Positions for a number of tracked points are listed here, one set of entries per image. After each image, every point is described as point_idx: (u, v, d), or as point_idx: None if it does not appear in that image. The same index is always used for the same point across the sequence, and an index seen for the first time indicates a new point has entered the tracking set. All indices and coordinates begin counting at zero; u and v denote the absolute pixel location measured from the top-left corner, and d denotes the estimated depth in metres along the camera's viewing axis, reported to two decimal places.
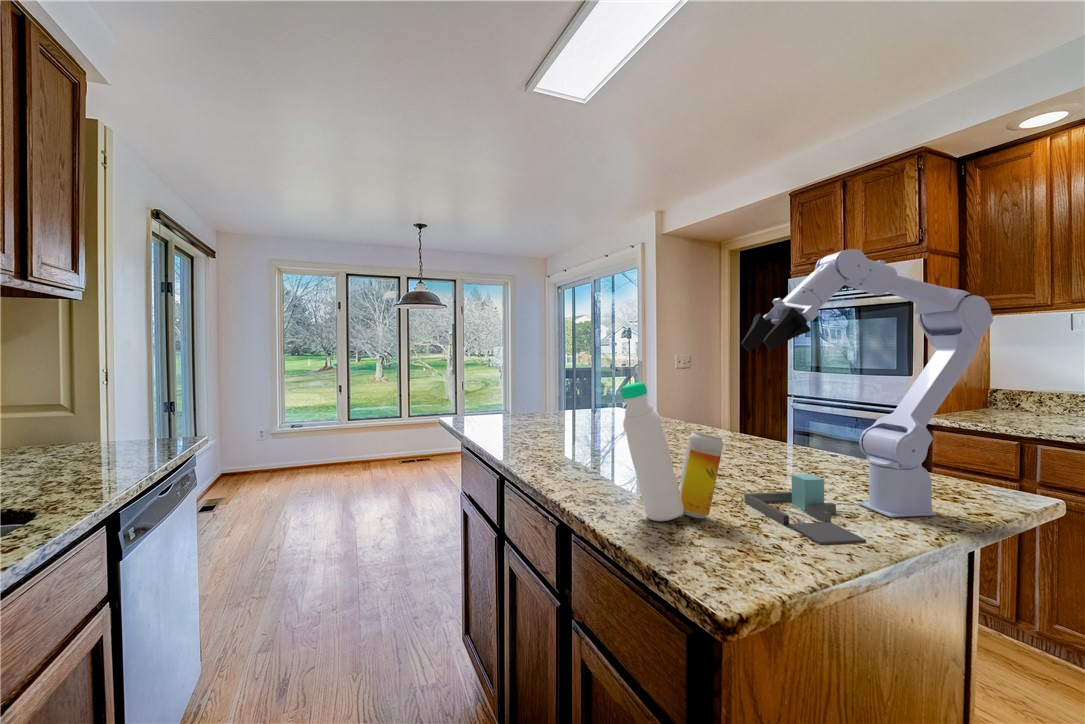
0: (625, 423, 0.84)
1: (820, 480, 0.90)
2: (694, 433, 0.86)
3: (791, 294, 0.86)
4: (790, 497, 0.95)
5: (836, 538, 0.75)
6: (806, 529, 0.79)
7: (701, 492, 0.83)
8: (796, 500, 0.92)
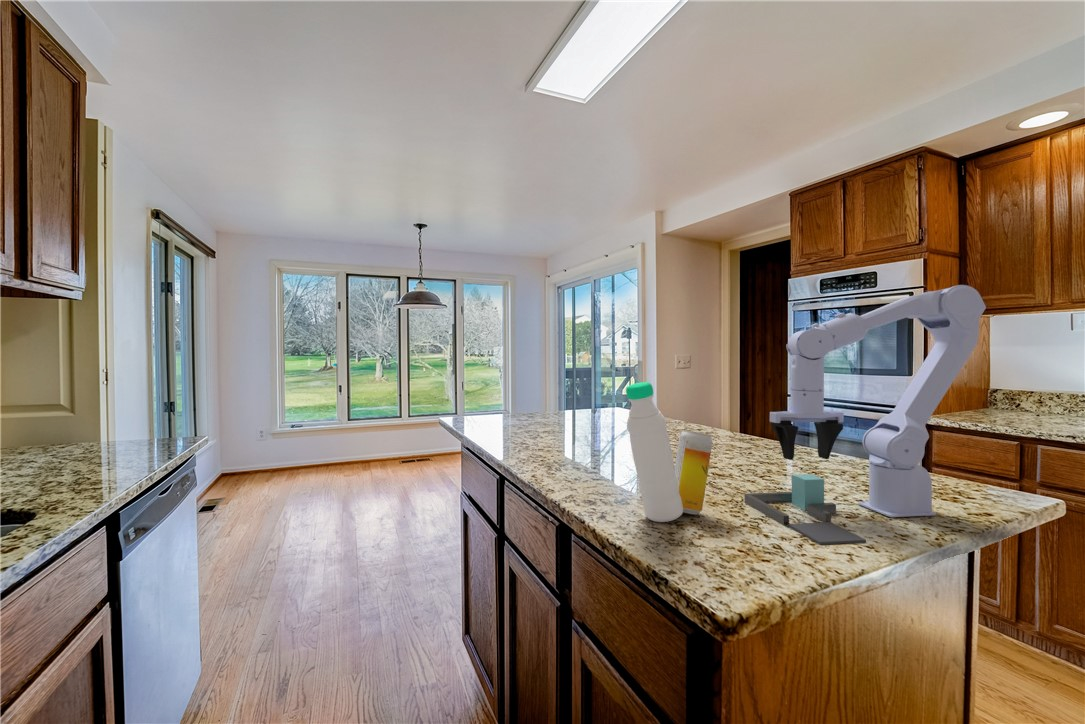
0: (634, 424, 0.82)
1: (820, 480, 0.90)
2: (687, 432, 0.88)
3: None
4: (790, 497, 0.95)
5: (836, 538, 0.75)
6: (806, 529, 0.79)
7: (698, 489, 0.85)
8: (796, 500, 0.92)
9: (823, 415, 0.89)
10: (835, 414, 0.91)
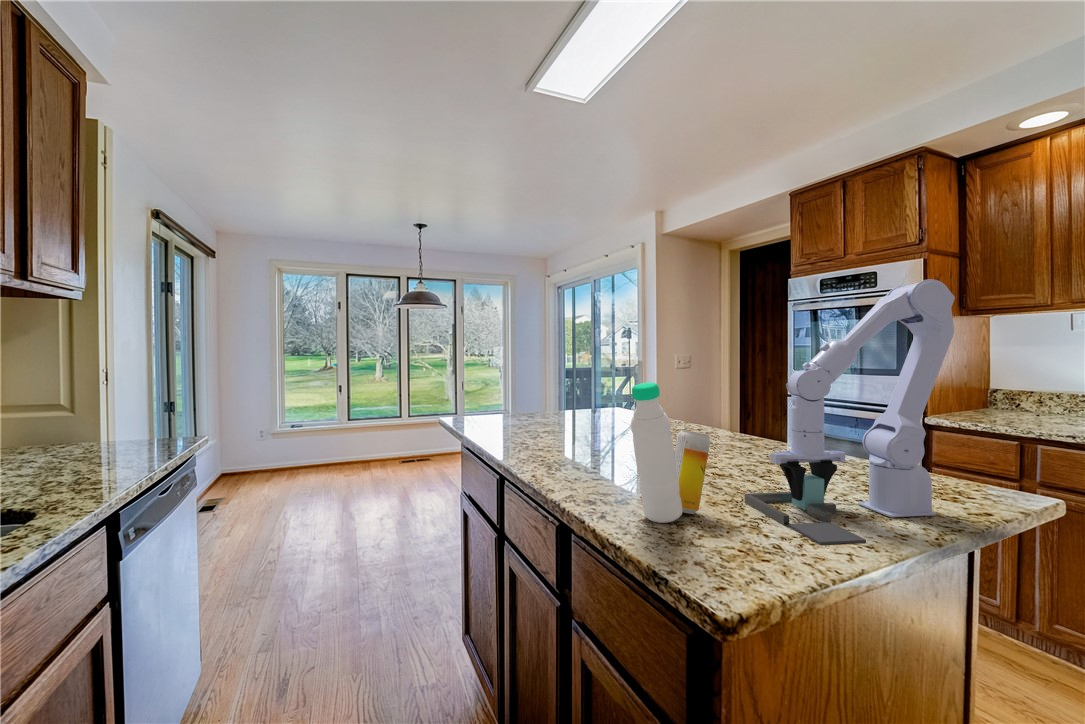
0: (640, 426, 0.80)
1: (820, 480, 0.90)
2: (686, 432, 0.88)
3: None
4: (790, 497, 0.95)
5: (836, 538, 0.75)
6: (806, 529, 0.79)
7: (697, 489, 0.86)
8: None
9: (824, 456, 0.89)
10: (836, 454, 0.91)
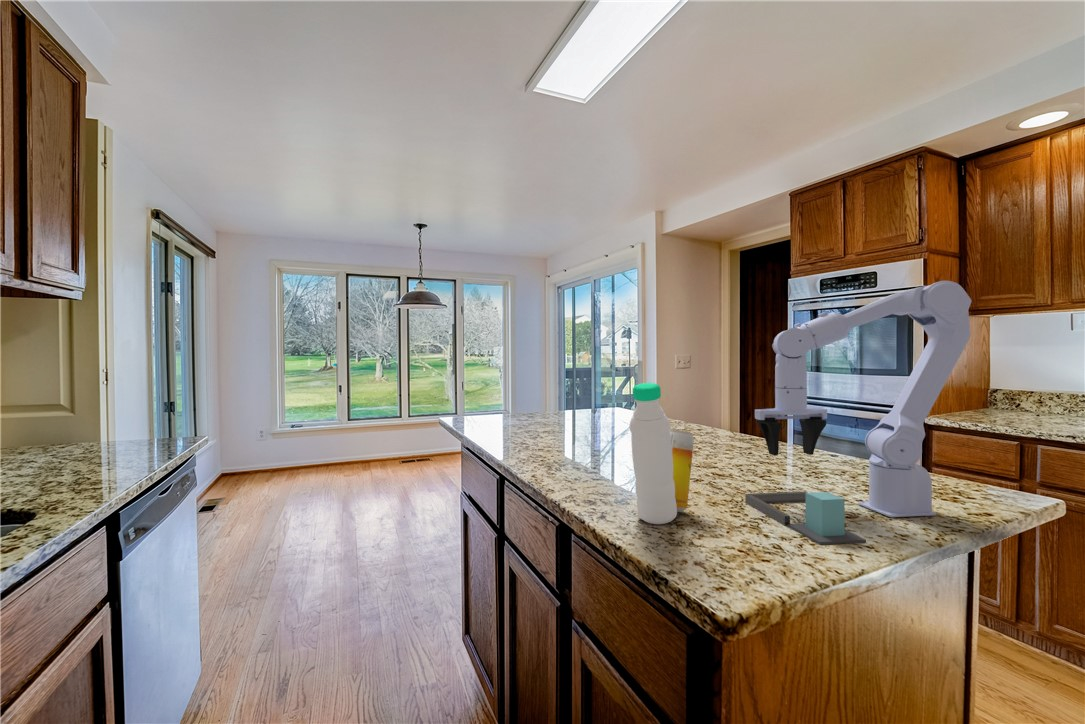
0: (644, 427, 0.79)
1: (840, 500, 0.76)
2: (673, 431, 0.89)
3: None
4: (791, 497, 0.95)
5: (836, 538, 0.75)
6: (806, 529, 0.79)
7: (686, 487, 0.87)
8: (811, 522, 0.78)
9: (806, 412, 0.92)
10: (818, 411, 0.93)
